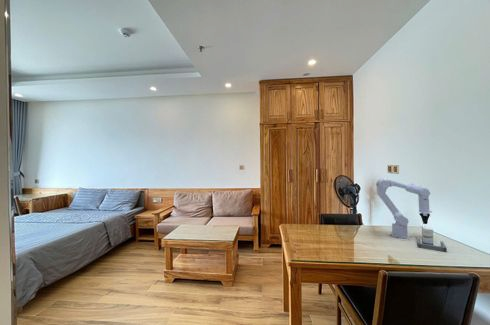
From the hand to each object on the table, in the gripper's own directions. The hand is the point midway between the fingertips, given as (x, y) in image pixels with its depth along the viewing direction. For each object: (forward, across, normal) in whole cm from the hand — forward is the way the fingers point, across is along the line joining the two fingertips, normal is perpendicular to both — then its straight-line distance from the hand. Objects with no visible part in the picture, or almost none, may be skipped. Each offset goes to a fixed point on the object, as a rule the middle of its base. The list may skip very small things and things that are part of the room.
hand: (425, 223), depth 152 cm
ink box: (+10, -15, 0) cm, 18 cm away
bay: (+10, -16, -1) cm, 19 cm away
